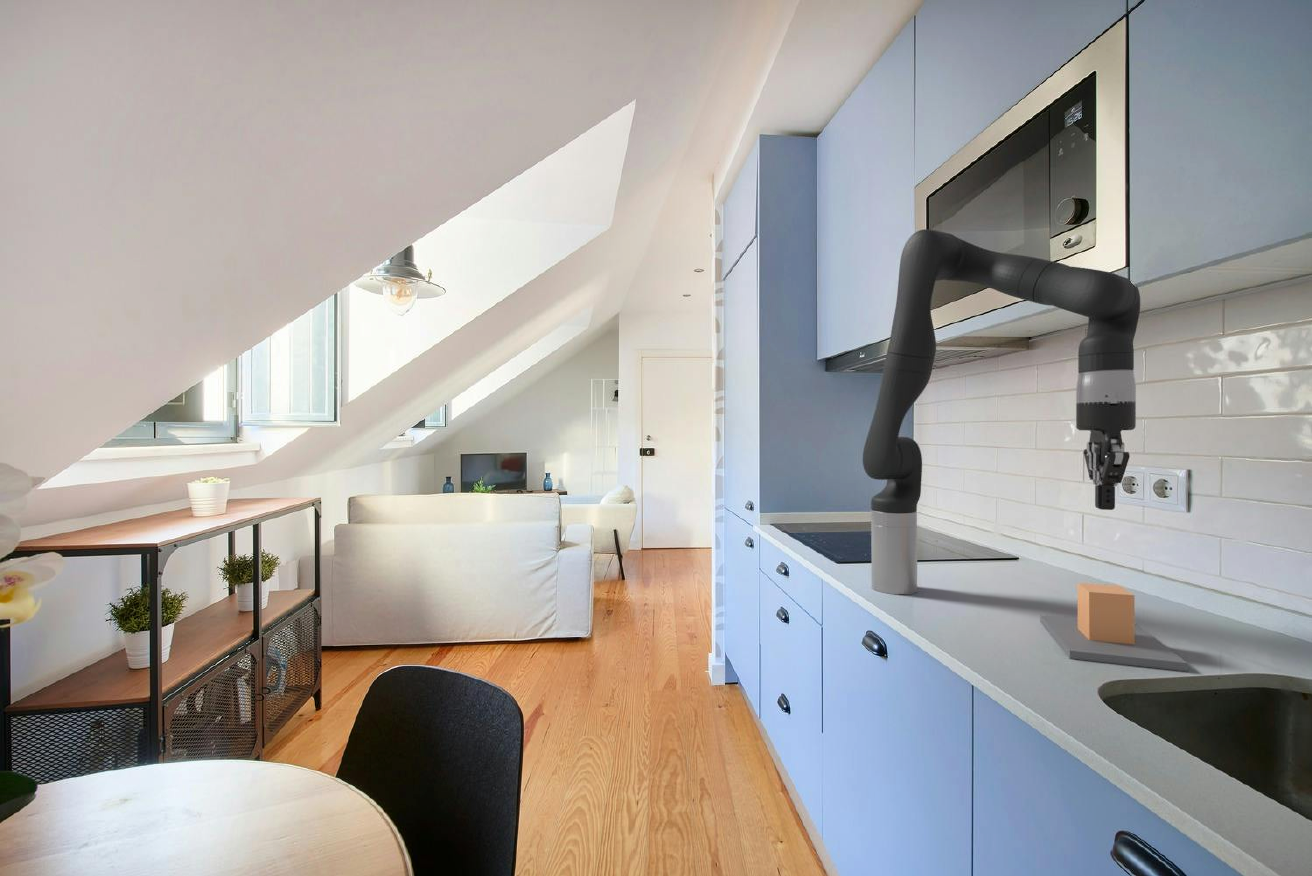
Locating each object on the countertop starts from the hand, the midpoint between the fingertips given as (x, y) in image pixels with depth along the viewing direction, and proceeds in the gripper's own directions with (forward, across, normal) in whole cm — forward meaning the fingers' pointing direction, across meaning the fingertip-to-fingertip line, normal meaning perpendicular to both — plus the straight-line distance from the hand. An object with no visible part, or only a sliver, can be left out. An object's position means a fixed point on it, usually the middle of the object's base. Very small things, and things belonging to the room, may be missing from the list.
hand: (1104, 509), depth 93 cm
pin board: (+22, 0, 0) cm, 22 cm away
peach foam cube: (+20, 0, 0) cm, 20 cm away
